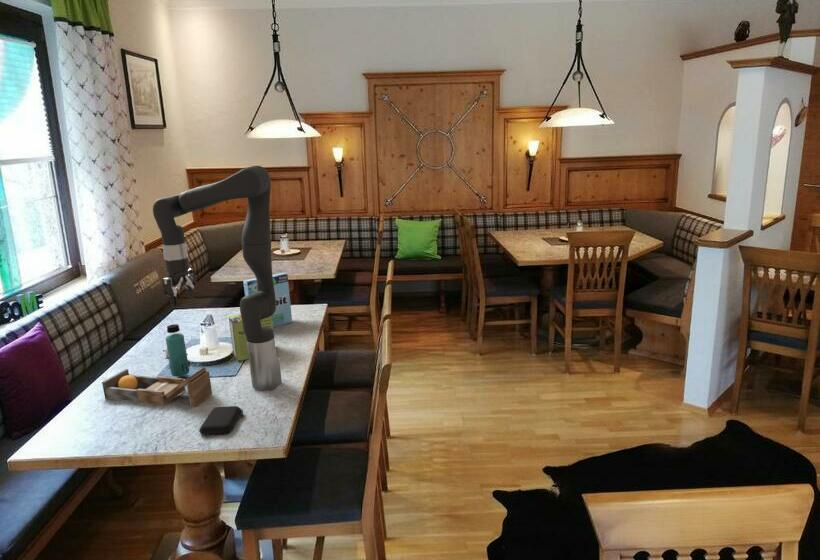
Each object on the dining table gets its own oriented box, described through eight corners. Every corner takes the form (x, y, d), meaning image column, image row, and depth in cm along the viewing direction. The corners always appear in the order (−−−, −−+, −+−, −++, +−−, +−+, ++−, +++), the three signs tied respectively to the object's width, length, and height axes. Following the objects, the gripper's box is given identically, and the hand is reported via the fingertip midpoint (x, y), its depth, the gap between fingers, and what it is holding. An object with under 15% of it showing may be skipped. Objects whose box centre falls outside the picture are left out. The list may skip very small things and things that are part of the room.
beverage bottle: (184, 381, 209) (176, 328, 204) (167, 380, 210) (159, 328, 205) (194, 373, 215) (186, 322, 210) (178, 372, 217) (170, 322, 211)
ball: (137, 371, 202) (143, 386, 203) (124, 373, 204) (130, 389, 205) (124, 378, 197) (131, 394, 198) (111, 381, 199) (118, 397, 200)
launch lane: (214, 393, 198) (210, 366, 196) (194, 408, 188) (189, 379, 186) (128, 384, 208) (123, 358, 206) (105, 398, 198) (99, 371, 196)
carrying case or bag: (234, 436, 171) (246, 412, 185) (233, 426, 170) (245, 403, 184) (198, 438, 171) (213, 413, 185) (196, 428, 170) (211, 405, 184)
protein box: (276, 353, 231) (272, 316, 227) (237, 361, 225) (232, 323, 221) (270, 345, 241) (266, 309, 236) (232, 352, 234) (227, 316, 230)
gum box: (252, 332, 257) (246, 282, 251) (248, 329, 261) (242, 280, 255) (292, 322, 268) (288, 274, 262) (288, 319, 272) (283, 272, 266)
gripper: (180, 251, 202) (186, 296, 206) (152, 261, 189) (159, 308, 193) (198, 252, 200) (205, 297, 204) (171, 262, 187) (178, 309, 191)
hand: (183, 302), depth 199 cm, fingers open, 8 cm apart
